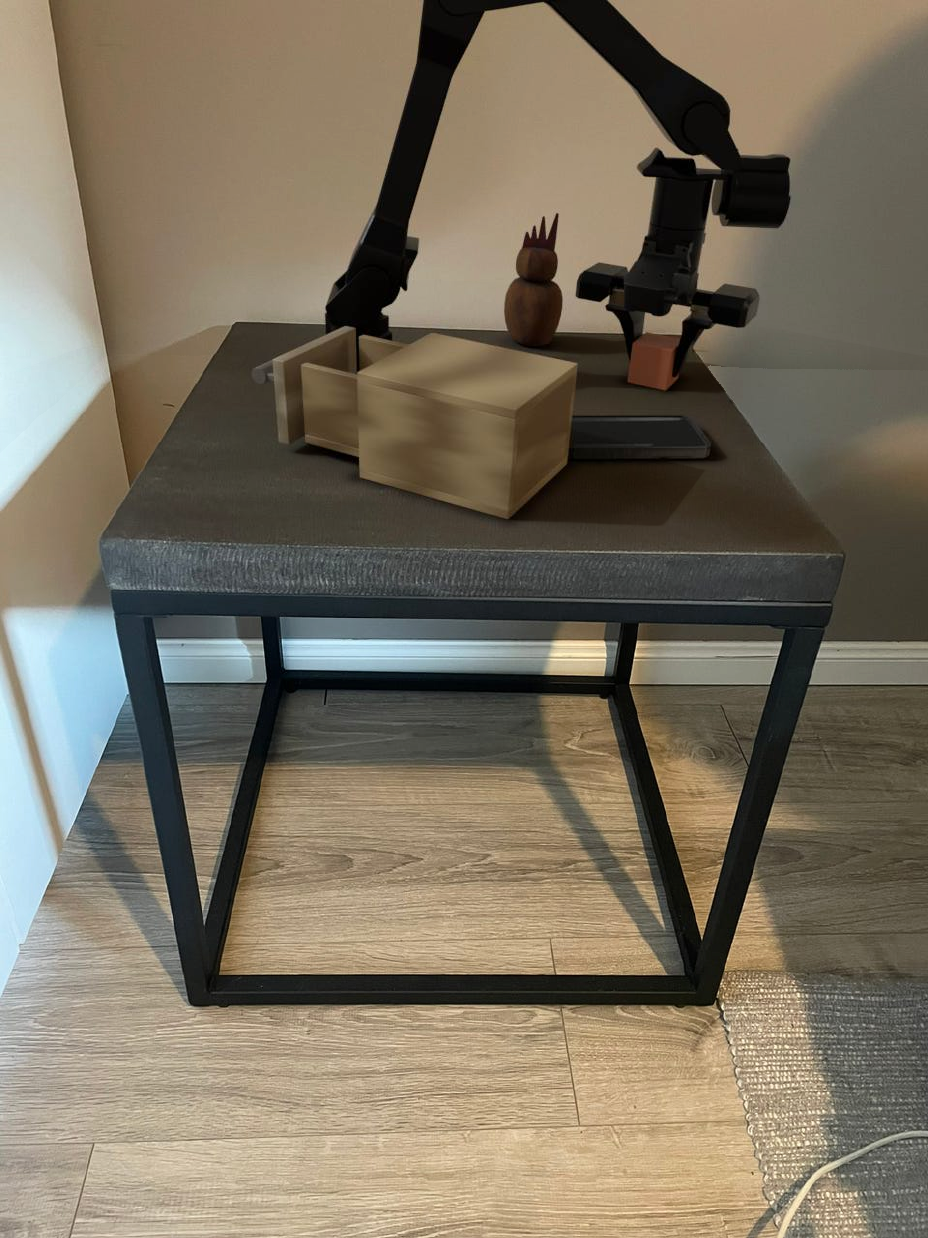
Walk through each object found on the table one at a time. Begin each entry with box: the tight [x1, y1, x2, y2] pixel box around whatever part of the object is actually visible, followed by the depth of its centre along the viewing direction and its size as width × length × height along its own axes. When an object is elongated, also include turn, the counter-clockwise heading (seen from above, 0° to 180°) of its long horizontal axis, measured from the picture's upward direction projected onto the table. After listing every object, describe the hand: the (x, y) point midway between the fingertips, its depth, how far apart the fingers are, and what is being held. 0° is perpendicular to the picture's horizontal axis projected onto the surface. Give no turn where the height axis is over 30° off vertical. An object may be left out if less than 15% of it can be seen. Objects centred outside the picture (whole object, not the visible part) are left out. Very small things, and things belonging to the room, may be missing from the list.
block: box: [627, 331, 680, 391], centre depth 106 cm, size 4×4×4 cm
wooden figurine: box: [503, 212, 564, 347], centre depth 112 cm, size 7×6×15 cm
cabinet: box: [357, 332, 579, 520], centre depth 83 cm, size 15×13×10 cm
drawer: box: [251, 326, 410, 458], centre depth 87 cm, size 18×11×8 cm, turn 62°
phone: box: [567, 414, 712, 460], centre depth 92 cm, size 8×1×15 cm
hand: (653, 371), depth 106 cm, fingers closed on block, 4 cm apart
